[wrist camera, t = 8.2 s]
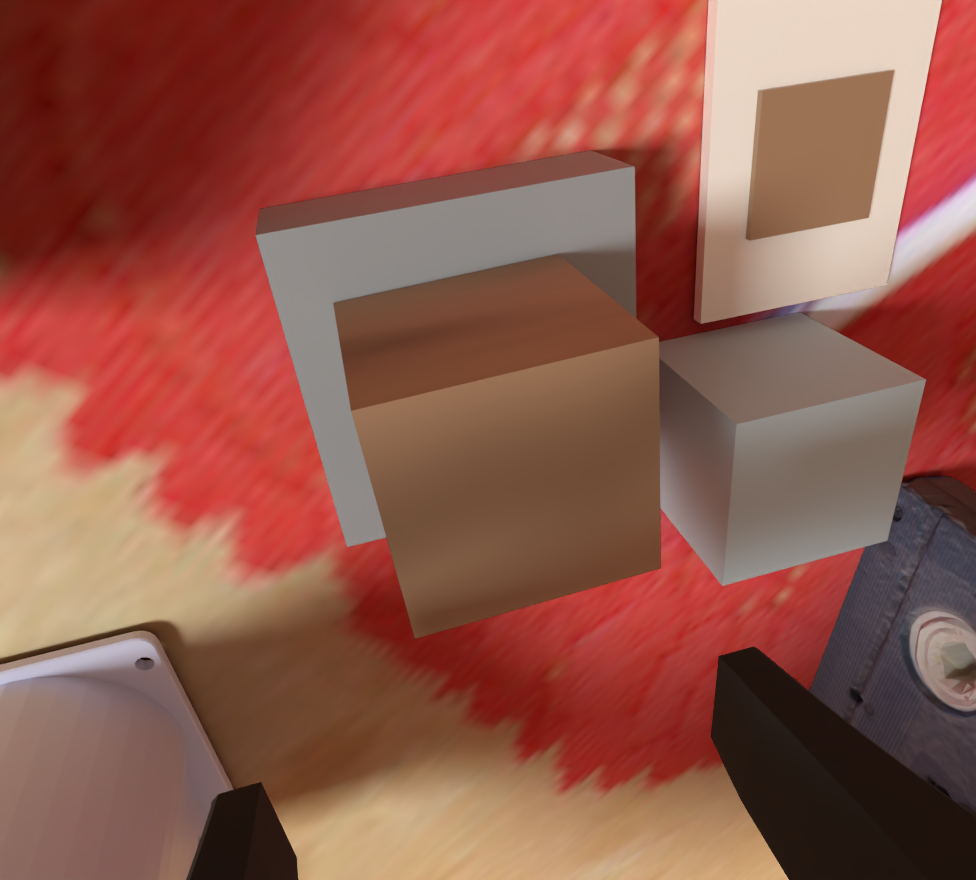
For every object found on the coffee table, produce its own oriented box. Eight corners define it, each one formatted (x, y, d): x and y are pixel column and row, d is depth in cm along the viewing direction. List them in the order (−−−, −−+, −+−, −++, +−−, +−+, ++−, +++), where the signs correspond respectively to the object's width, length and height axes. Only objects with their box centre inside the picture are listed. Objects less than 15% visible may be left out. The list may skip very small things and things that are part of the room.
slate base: (597, 423, 22) (637, 474, 19) (339, 484, 20) (346, 547, 18) (584, 148, 17) (634, 166, 15) (260, 205, 16) (255, 234, 14)
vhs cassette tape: (810, 781, 35) (976, 1015, 27) (759, 792, 34) (912, 1036, 26) (955, 467, 26) (1271, 669, 18) (890, 473, 25) (1187, 685, 17)
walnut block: (574, 443, 18) (660, 568, 14) (384, 492, 17) (414, 638, 13) (557, 253, 15) (659, 337, 11) (333, 302, 15) (350, 410, 11)
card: (877, 281, 21) (892, 287, 20) (693, 319, 20) (704, 326, 20) (936, -40, 17) (956, -43, 16) (709, -11, 16) (722, -12, 15)
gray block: (780, 450, 24) (887, 540, 19) (642, 484, 23) (722, 585, 19) (798, 310, 21) (926, 379, 17) (642, 344, 20) (736, 424, 16)
